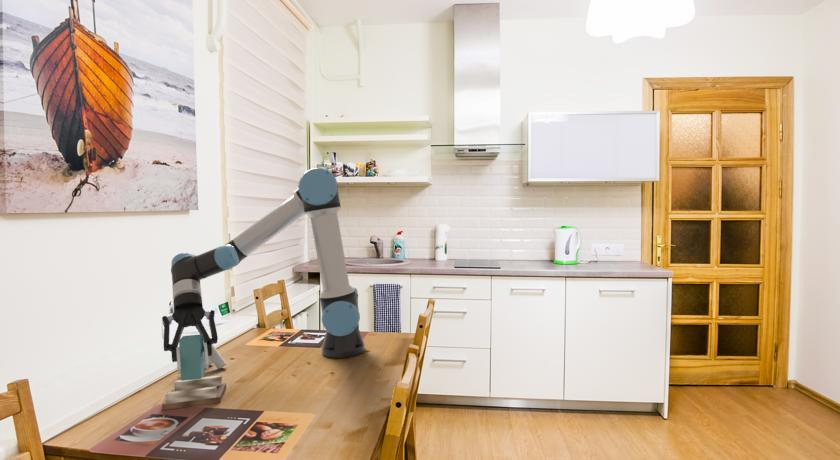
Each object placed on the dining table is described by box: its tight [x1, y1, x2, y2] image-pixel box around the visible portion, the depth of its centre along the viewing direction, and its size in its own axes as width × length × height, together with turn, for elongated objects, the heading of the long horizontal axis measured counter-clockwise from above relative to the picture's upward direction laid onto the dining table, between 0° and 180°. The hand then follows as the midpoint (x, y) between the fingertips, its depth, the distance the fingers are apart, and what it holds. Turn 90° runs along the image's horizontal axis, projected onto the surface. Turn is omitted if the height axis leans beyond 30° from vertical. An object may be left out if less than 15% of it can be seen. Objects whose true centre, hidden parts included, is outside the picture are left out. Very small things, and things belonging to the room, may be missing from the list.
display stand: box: [161, 374, 227, 411], centre depth 121 cm, size 14×10×4 cm
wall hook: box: [203, 341, 227, 370], centre depth 145 cm, size 8×10×10 cm
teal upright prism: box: [178, 334, 206, 381], centre depth 121 cm, size 5×4×11 cm
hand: (193, 368), depth 118 cm, fingers closed on teal upright prism, 6 cm apart
